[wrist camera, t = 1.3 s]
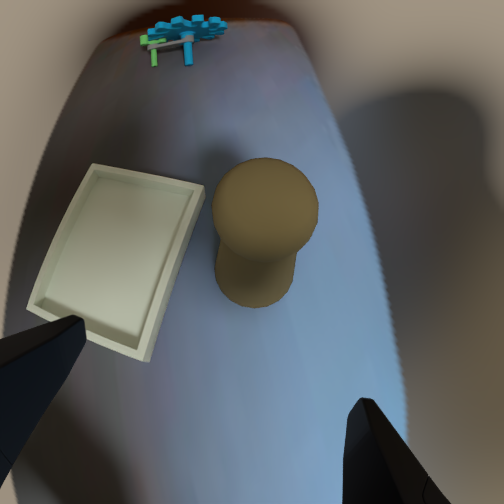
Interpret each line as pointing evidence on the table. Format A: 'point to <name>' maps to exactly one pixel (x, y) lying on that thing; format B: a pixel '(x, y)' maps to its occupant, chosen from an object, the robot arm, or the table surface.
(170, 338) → the table surface
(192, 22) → the gear
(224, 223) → the cork
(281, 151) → the table surface
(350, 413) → the robot arm
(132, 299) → the tray
